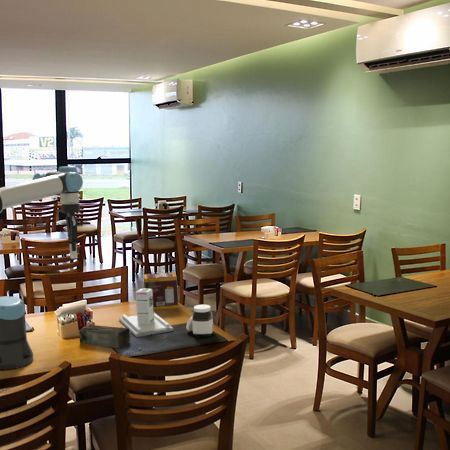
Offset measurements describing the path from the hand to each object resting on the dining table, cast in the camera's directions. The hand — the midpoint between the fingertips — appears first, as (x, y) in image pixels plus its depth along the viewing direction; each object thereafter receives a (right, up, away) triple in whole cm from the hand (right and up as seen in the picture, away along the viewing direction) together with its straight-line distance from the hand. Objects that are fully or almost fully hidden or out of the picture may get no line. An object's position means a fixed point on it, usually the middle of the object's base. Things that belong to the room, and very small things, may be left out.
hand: (74, 258), depth 241 cm
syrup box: (+30, -28, +2) cm, 41 cm away
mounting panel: (+30, -29, +3) cm, 42 cm away
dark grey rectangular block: (+17, -33, -17) cm, 41 cm away
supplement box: (+34, -26, +33) cm, 53 cm away
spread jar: (+54, -31, -10) cm, 63 cm away
